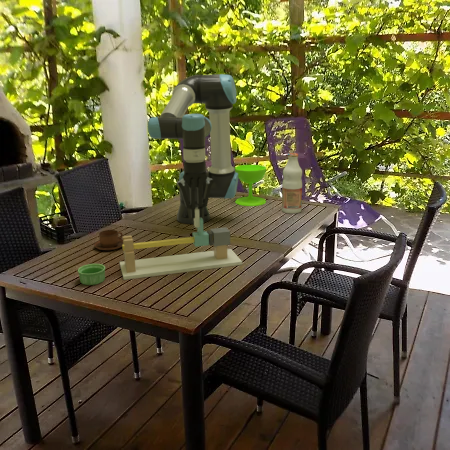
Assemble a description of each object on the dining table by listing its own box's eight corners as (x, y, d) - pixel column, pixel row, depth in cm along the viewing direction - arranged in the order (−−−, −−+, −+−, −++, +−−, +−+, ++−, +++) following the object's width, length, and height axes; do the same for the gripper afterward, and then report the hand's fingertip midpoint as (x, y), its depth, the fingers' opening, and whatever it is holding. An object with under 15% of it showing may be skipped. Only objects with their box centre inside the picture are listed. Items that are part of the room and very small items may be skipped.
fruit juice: (277, 210, 247) (278, 153, 238) (292, 207, 252) (293, 151, 244) (290, 215, 240) (292, 156, 231) (305, 211, 245) (307, 153, 236)
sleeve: (192, 242, 184) (191, 216, 181) (205, 241, 186) (205, 214, 183) (195, 247, 180) (194, 220, 177) (209, 245, 181) (208, 218, 178)
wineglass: (250, 208, 253) (250, 172, 247) (228, 201, 264) (228, 167, 259) (272, 202, 263) (272, 167, 257) (250, 196, 274) (250, 163, 269)
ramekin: (90, 273, 177) (88, 262, 175) (111, 277, 173) (110, 265, 172) (73, 283, 169) (71, 271, 167) (95, 287, 165) (94, 275, 164)
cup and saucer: (107, 240, 210) (106, 226, 208) (131, 244, 205) (130, 230, 203) (88, 250, 199) (86, 235, 198) (112, 254, 194) (111, 239, 192)
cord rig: (119, 264, 184) (117, 232, 180) (230, 251, 195) (230, 221, 191) (123, 279, 171) (120, 245, 167) (242, 264, 182) (242, 232, 178)
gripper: (178, 163, 168) (181, 231, 175) (215, 161, 171) (217, 227, 179) (173, 159, 175) (176, 225, 182) (210, 157, 178) (211, 221, 186)
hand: (196, 226), depth 180 cm, fingers closed
